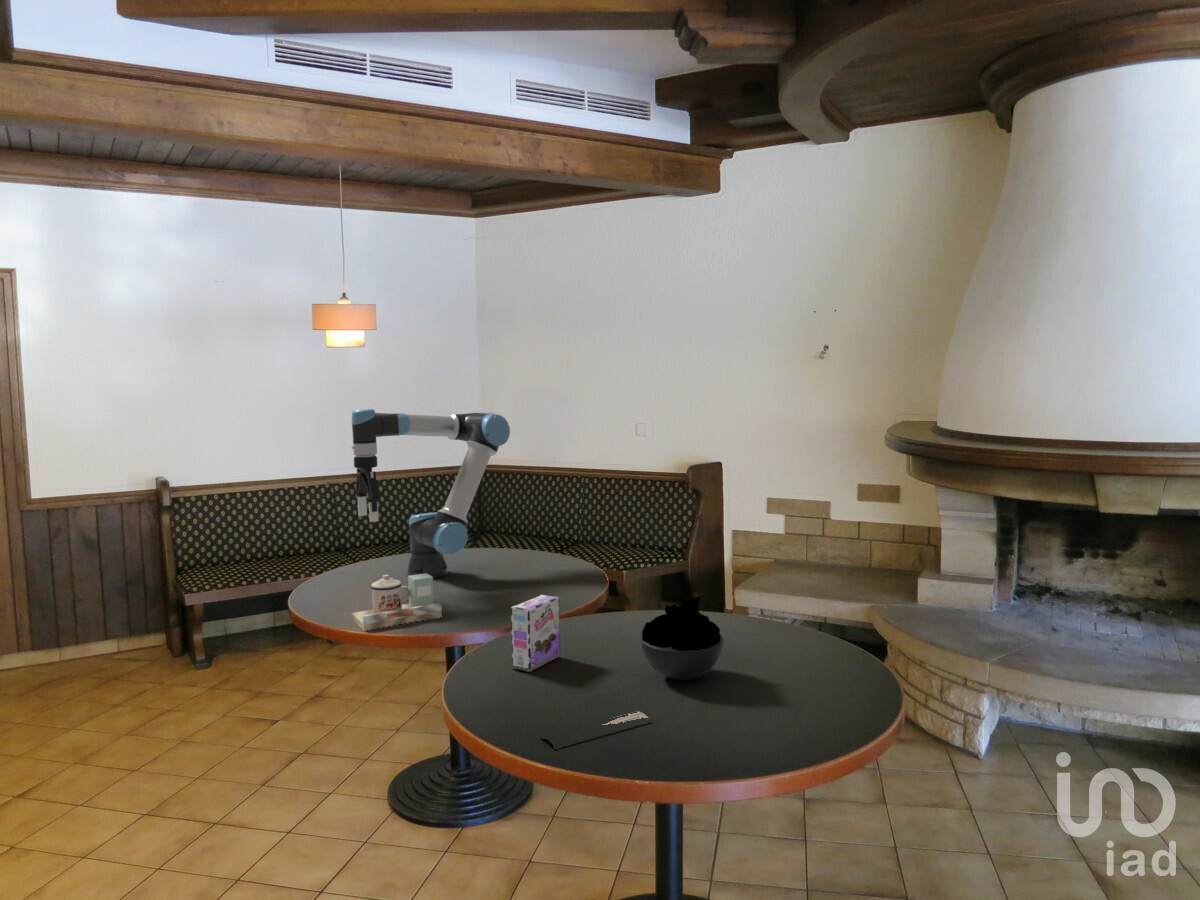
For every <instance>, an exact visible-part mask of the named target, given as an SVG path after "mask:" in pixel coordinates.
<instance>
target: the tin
mask: <svg viewBox="0 0 1200 900" xmlns="http://www.w3.org/2000/svg"><path fill="white" fill-rule="evenodd" d="M407 587H408V588H409V589H410V597H409V599H408V604H409V607H410V608H411V607H417V606H423V605H429V604H435V599H434V578H433V577H432V576H430V575H429V574H427V573H424V574H417V575H410V576H408V577H407Z"/></svg>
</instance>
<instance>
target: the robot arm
mask: <svg viewBox="0 0 1200 900" xmlns="http://www.w3.org/2000/svg"><path fill="white" fill-rule="evenodd" d="M351 427H352V429H351V430H352V445H353V446H351V449H352V450H353V455H354V457H353V467H354V468H356V482H355V492H354V493H355V495H356V496H357V512H358V513H357V514H358V517H363V516H364V517H365V516H368V512H369V523H373V522H379V504H378V503H379V501H380V500H381V497H380V491H379V488H378V482H377V476H376V475H377V474H376V471H373V468H377V467H378V456H377V454H378V448H377V447H378V444H377V442H378V441H377V438H380V437H391V436H392V437H395V436H398V437H400V436H415V437H416V436H417V437H418V436H419V437H420V436H421V437H447V438H448V439H450V440H453V441H455V440H456V441H461V442H466V445H467V447H468V449H467V451H466V453H465V456H464V459H463V461H462V463H461V465H460V467H459V471H458V473H457V475H456V477H455V480H454V482H453V485H452V487H451V490H450V492H449V495H447V499H446V501H445V504H444V506H443V508H441V509H438V510H437V512H426V513H418V514H414V515H410V517H409V523H408V528H409V545H410V557H409V559H408V564H407V568H406V577H407V576H410V575H417V574H424V573H427V574H429V575H430V576H432V577H433V579H438V577H439V578H441V577H445V576H448V574H449V567H448V564H447V562H446V561H447V560H446V558H445V555H446V554H447V555H453V554H456V553H459V552H460V551H461V550H463V548H464V547H465V546H466V544H467V542H468V539H469V534H468V530H467V527H468V523H469V521H468V519H467V516H468V512H469V510H470V508H471V505H472V503H473V501H474V497H475V496H476V493H477V490H478V488H479V485H480V483H481V480H482V478H483V476H484V473H485V471H486V469H487V466H488V463H489V461H490V459H491V457H492V456H494V455H496V454H497V452H498V450H499V448H500V446H503V445H505V444H506V443H507V442H508V440H509V438H510V436H511V435H510V434H511V429H510V425H509V422H508V420H507V419H506V418H505V417H504V416H503V415H502V414H497V413H494V412H489V413H488V412H487V413H486V412H468V413H460V414H459V413H458V414H457V413H456V414H455V413H451V414H449V416H448V415H447V416H445V415H444V416H443V415H423V414H406V413H404V412H403V413H401V412H400V413H398V412H396V413H387V412H386V413H383V412H376V411H375V409H373V408H366V409H363V408H361V409H354V410H352V413H351ZM366 491H367V492H366ZM367 497H368V498H369V499H368V500H367ZM367 503H368V506H367ZM444 554H445V555H444ZM444 575H445V576H444Z"/></svg>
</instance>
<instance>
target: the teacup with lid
mask: <svg viewBox="0 0 1200 900" xmlns="http://www.w3.org/2000/svg"><path fill="white" fill-rule="evenodd" d="M370 588H371V594H372V595H371V598H372V610H373V613H374V614H376V613H382V612H388V611H394V610H400V609H402V605H403V604H402V603H405V602H407V601H409V597H410V589H409V588H408V585H402V582H401V581H400V580H399V579H394V578H392V577H390V575H389V574H383V575H382V578H380V579H378V580H377V581H376V580H375V581H374V582H373V583H371V585H370ZM403 589H406V591H407V594H406V596H405V597H404V599H402V590H403Z"/></svg>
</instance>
